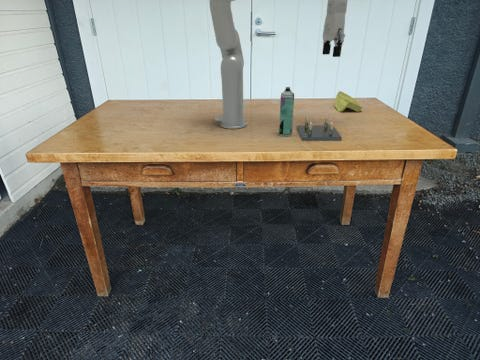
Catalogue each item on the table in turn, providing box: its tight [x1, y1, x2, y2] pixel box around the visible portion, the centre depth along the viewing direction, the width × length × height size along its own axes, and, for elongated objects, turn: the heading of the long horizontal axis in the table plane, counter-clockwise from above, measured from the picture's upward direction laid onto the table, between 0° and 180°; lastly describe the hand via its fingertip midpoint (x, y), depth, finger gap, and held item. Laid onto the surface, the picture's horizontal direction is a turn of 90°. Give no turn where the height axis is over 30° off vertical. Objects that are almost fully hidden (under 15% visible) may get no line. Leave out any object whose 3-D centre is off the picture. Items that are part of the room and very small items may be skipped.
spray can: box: [278, 86, 295, 137], centre depth 133 cm, size 6×6×20 cm
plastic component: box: [334, 90, 363, 113], centre depth 176 cm, size 20×7×10 cm
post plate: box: [296, 115, 343, 142], centre depth 136 cm, size 16×16×6 cm
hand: (331, 55), depth 135 cm, fingers open, 9 cm apart
